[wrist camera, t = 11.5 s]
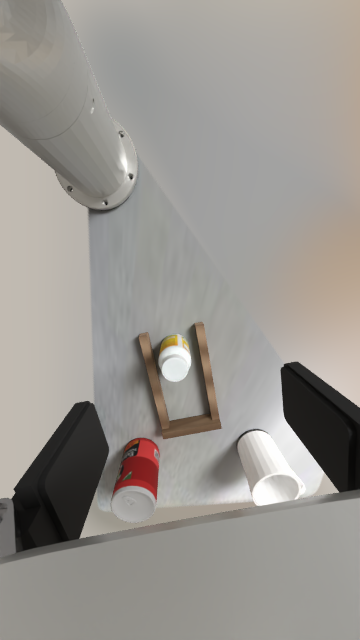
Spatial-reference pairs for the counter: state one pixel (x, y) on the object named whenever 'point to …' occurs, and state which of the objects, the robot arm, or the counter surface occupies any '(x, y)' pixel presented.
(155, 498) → the canned food
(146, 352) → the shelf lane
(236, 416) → the counter surface
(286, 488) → the mug
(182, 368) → the supplement bottle
